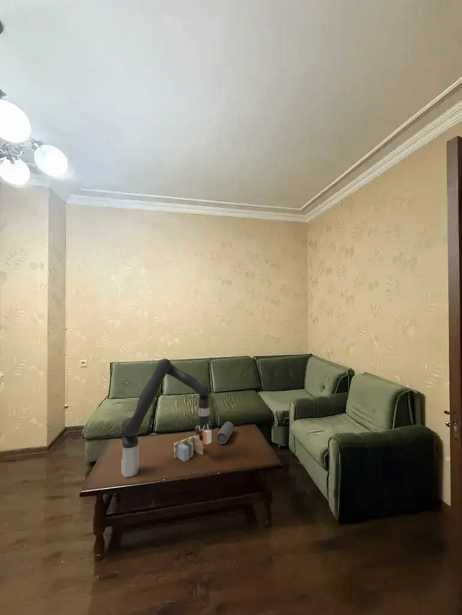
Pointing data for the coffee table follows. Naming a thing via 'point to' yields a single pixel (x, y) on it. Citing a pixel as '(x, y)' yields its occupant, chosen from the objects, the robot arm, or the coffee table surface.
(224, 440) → the bluetooth speaker
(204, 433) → the boxed book
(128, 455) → the robot arm
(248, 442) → the coffee table surface
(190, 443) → the bookend
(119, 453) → the coffee table surface
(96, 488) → the coffee table surface
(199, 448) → the shelf
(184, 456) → the shelved book
